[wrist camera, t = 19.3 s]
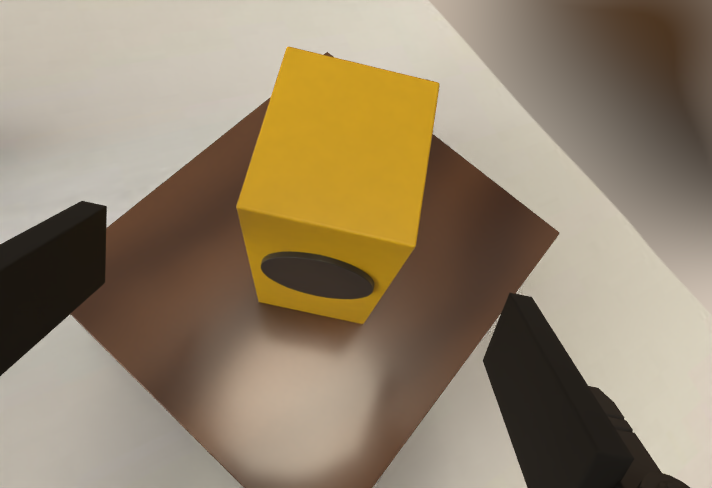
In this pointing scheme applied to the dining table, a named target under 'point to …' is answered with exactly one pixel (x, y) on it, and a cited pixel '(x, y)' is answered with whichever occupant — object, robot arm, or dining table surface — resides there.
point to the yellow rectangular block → (336, 184)
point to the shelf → (302, 321)
